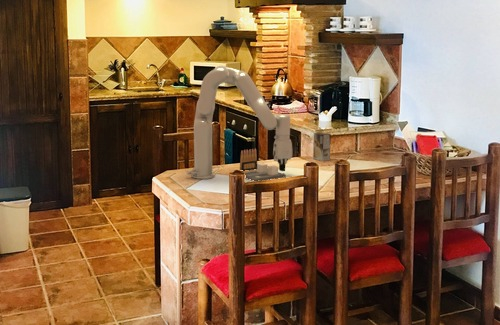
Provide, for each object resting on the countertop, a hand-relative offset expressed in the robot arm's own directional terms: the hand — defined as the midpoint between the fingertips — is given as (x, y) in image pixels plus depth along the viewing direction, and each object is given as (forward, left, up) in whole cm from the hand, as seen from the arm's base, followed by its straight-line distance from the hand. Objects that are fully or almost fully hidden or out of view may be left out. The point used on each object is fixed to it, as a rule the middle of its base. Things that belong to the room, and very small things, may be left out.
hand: (282, 170), depth 355 cm
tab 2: (-6, 0, -1) cm, 6 cm away
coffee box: (+45, +20, -3) cm, 49 cm away
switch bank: (-10, +3, -3) cm, 11 cm away
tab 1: (-8, +7, -1) cm, 11 cm away
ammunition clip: (-8, +20, -3) cm, 22 cm away
